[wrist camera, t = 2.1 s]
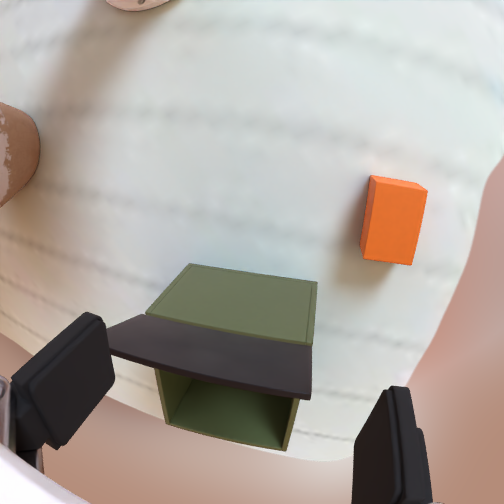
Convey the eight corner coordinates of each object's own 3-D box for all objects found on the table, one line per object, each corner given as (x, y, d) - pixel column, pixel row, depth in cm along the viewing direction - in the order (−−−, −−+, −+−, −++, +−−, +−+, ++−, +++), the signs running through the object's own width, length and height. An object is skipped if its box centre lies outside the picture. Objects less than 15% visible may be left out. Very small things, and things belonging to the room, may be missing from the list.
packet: (370, 174, 26) (376, 181, 23) (417, 183, 25) (428, 190, 22) (359, 245, 28) (362, 259, 25) (403, 251, 27) (411, 265, 25)
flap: (141, 318, 23) (141, 313, 23) (311, 351, 21) (312, 345, 21) (82, 344, 16) (82, 338, 16) (310, 400, 14) (311, 393, 14)
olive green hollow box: (189, 263, 33) (145, 311, 24) (317, 281, 30) (312, 343, 22) (194, 369, 39) (165, 424, 30) (296, 389, 36) (286, 451, 28)
